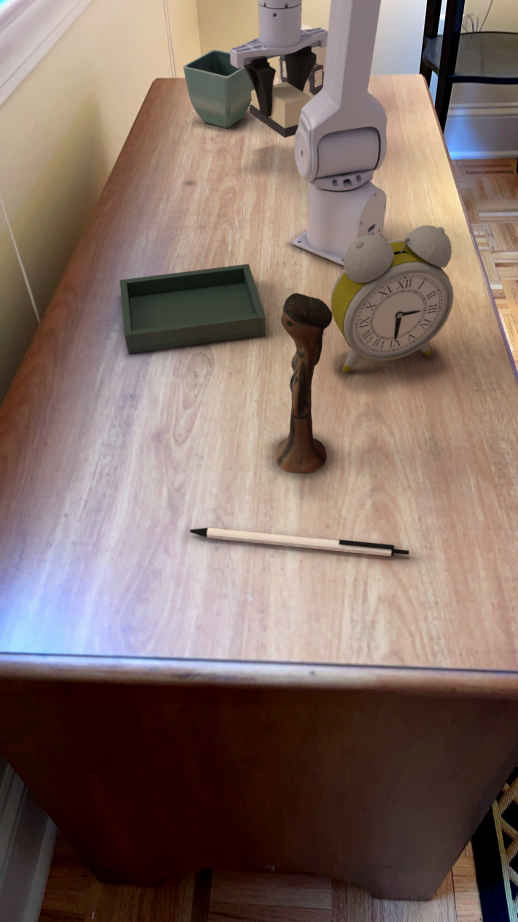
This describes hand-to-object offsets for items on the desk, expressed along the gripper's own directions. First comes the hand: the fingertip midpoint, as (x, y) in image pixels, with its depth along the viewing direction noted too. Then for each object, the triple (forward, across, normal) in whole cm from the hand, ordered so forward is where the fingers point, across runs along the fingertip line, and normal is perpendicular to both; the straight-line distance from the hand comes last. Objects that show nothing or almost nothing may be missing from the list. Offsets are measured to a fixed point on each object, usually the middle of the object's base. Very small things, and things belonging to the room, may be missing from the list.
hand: (279, 110), depth 100 cm
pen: (+8, +36, +61) cm, 71 cm away
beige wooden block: (+2, 0, 0) cm, 2 cm away
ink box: (+8, -13, -13) cm, 20 cm away
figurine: (+8, +30, +52) cm, 60 cm away
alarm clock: (+8, +14, +44) cm, 47 cm away
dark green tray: (+8, +29, +27) cm, 41 cm away
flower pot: (+8, 0, -17) cm, 19 cm away
